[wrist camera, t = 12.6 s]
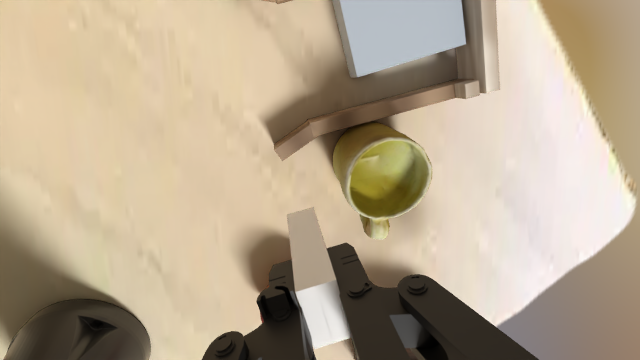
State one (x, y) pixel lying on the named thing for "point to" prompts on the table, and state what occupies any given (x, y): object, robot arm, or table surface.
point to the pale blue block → (396, 31)
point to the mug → (380, 174)
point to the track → (473, 78)
